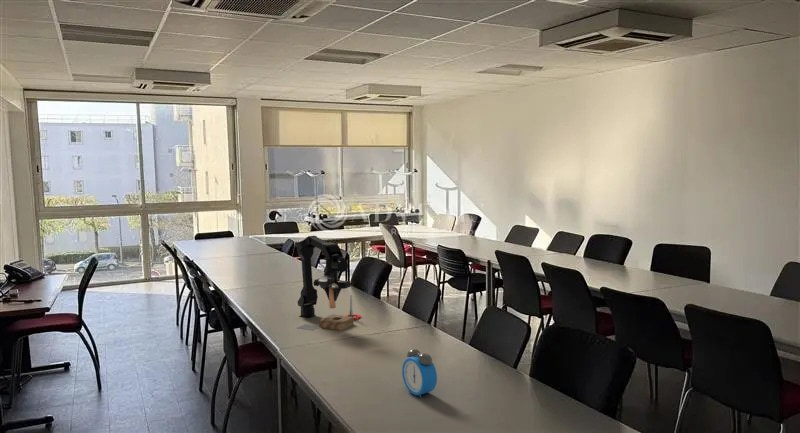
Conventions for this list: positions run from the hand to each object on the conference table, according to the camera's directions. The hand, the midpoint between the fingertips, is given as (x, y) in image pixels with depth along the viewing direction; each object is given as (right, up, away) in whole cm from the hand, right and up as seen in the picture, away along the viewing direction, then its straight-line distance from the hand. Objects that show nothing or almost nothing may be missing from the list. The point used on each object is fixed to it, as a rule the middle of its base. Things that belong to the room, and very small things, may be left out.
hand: (332, 300), depth 283 cm
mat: (-11, -13, 0) cm, 18 cm away
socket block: (+2, -13, +2) cm, 13 cm away
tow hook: (+8, -12, +18) cm, 23 cm away
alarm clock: (+40, -21, -81) cm, 93 cm away
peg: (0, -4, 0) cm, 4 cm away
